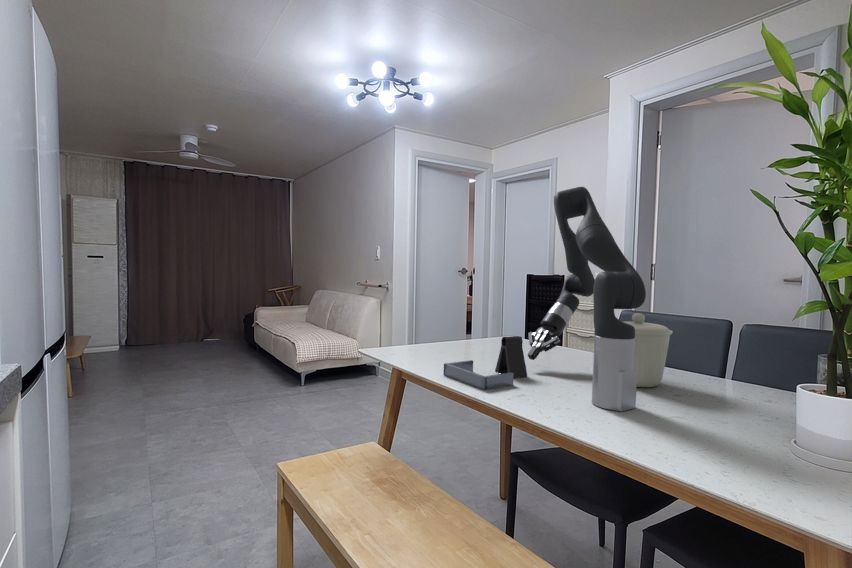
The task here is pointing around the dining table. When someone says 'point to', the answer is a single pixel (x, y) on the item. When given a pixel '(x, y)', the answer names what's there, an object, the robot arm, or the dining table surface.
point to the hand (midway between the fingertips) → (530, 358)
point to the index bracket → (476, 376)
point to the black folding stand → (511, 357)
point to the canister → (649, 350)
